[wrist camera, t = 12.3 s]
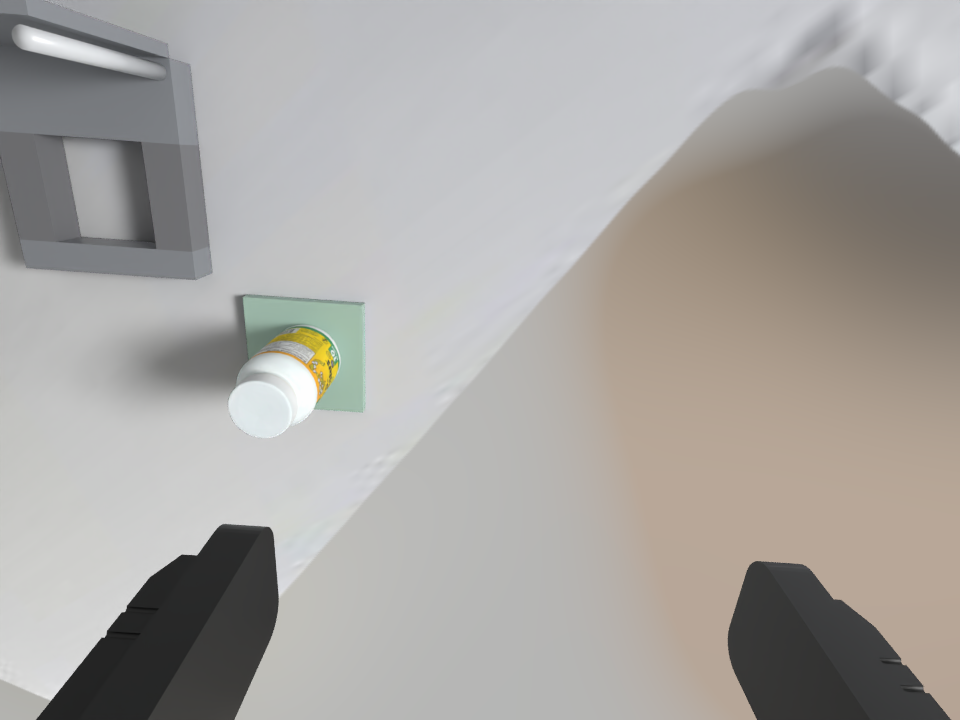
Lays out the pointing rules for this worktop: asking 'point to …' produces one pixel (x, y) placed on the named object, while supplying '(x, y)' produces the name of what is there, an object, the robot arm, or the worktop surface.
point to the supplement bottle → (284, 381)
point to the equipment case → (103, 115)
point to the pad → (330, 316)
